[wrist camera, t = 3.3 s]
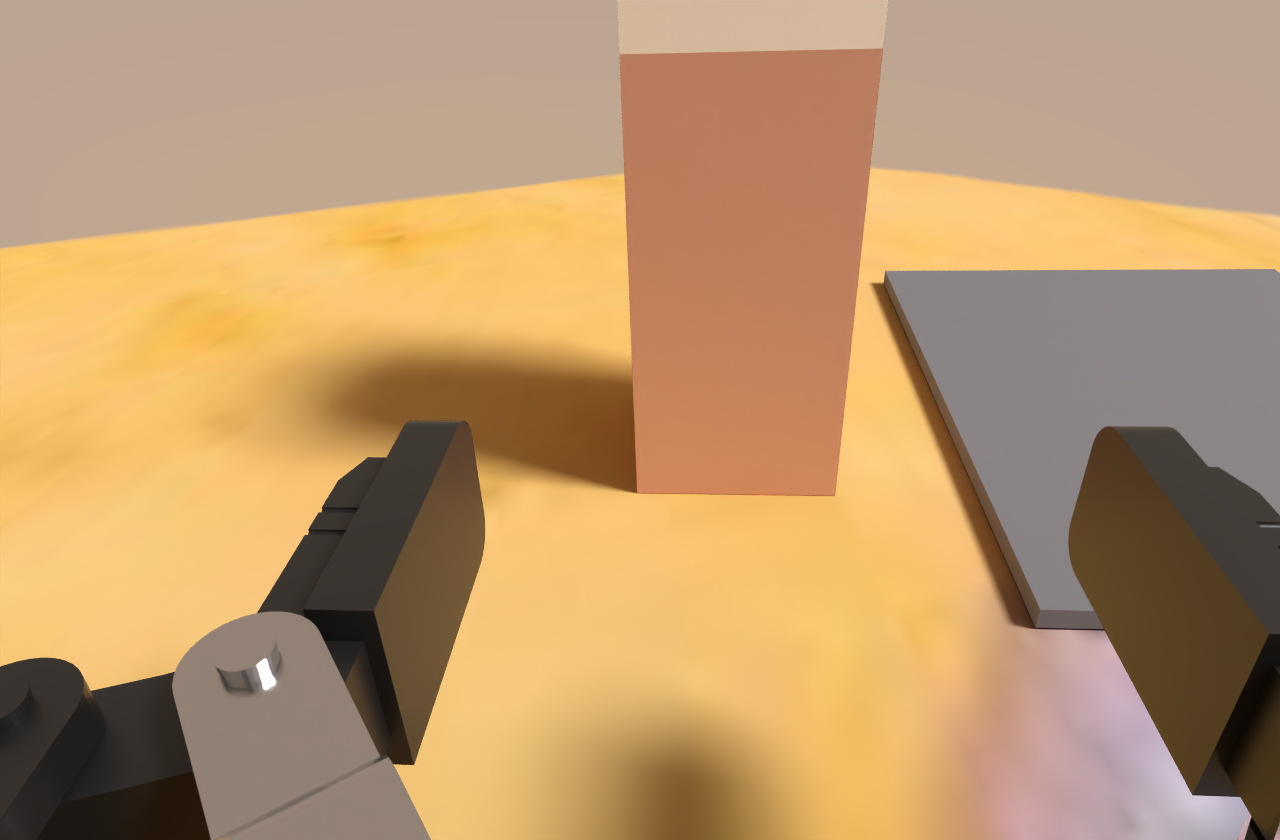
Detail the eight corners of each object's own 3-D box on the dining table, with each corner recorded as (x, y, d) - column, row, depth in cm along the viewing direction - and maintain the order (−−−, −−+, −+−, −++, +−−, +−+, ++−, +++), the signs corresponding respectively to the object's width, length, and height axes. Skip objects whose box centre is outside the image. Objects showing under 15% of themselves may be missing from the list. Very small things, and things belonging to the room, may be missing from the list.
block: (637, 492, 22) (616, -34, 16) (648, 395, 27) (634, -52, 20) (835, 495, 22) (892, -42, 16) (813, 396, 26) (853, -59, 20)
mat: (1035, 627, 18) (1040, 609, 18) (883, 283, 33) (885, 270, 33) (1777, 645, 17) (1794, 626, 17) (1269, 282, 32) (1274, 269, 32)
